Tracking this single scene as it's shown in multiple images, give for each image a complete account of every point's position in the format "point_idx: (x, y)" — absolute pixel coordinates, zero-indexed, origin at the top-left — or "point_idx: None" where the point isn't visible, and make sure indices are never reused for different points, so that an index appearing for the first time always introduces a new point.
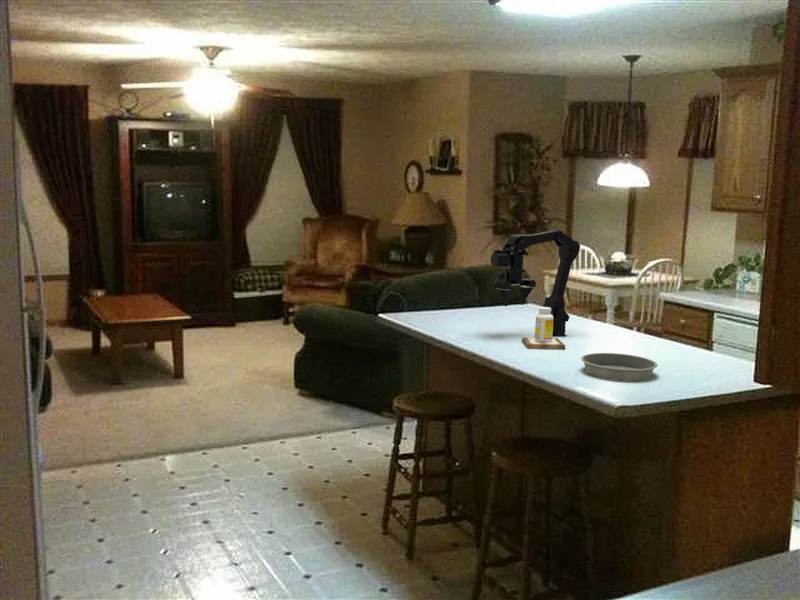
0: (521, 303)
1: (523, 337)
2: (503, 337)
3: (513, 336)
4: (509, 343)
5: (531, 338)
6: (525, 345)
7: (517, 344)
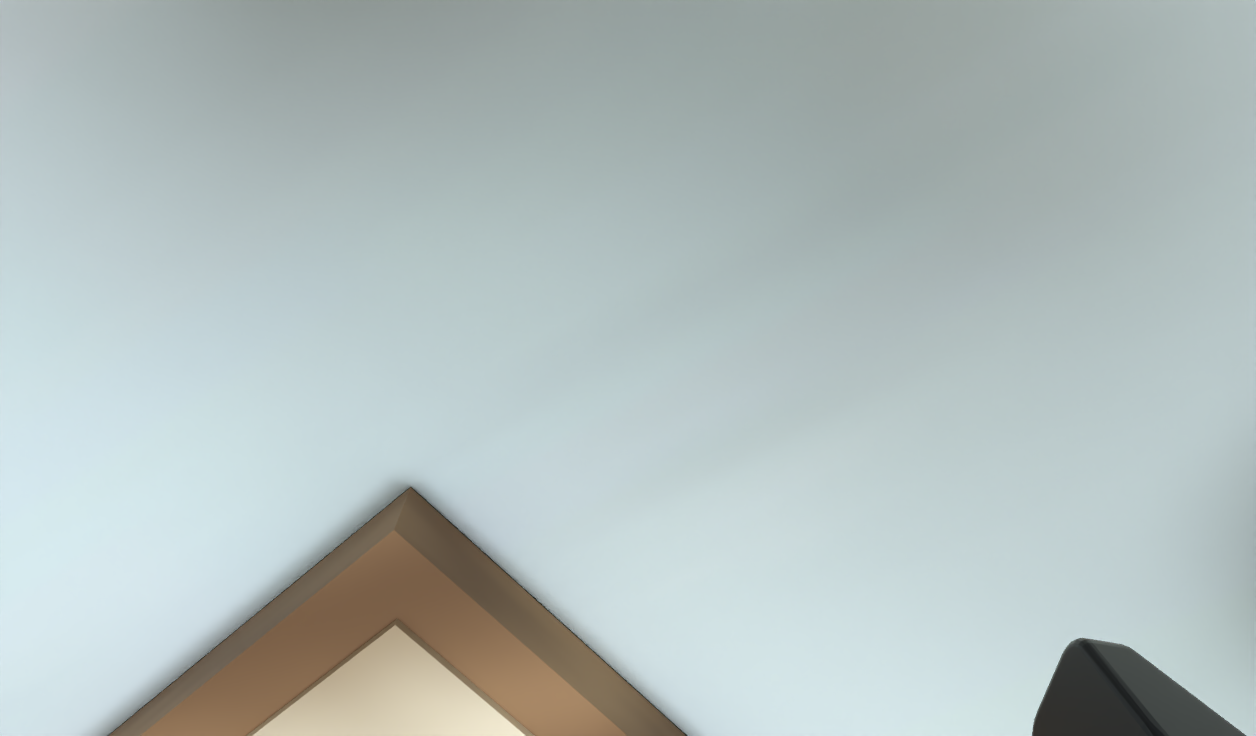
0: (1066, 717)
1: (410, 550)
2: (447, 4)
3: (736, 94)
4: (61, 433)
5: (413, 707)
6: (156, 697)
7: (126, 563)
